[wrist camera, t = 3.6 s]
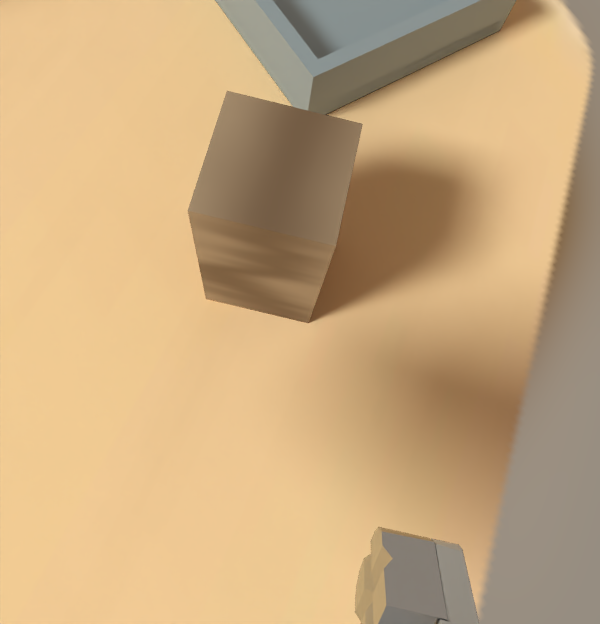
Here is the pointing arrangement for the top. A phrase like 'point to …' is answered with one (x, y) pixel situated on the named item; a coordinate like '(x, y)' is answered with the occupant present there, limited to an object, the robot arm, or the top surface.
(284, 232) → the walnut block
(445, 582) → the robot arm
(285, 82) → the tray
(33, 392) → the top surface
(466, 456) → the top surface
